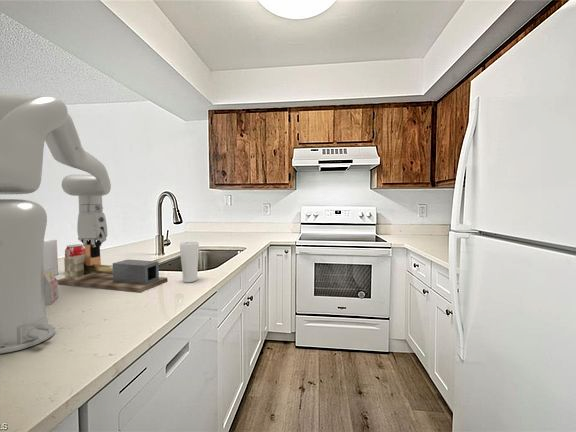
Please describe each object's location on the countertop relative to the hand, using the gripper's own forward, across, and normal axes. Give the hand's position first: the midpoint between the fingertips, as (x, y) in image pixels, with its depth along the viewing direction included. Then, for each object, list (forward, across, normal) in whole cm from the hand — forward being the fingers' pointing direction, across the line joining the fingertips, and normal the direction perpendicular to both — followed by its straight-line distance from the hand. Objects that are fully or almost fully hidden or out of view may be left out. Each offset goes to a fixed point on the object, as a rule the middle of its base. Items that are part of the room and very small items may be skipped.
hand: (92, 256), depth 112 cm
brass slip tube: (+6, -6, 0) cm, 9 cm away
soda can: (+10, +19, -8) cm, 23 cm away
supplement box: (+10, +28, 0) cm, 30 cm away
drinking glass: (+10, -36, -10) cm, 39 cm away
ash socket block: (+8, +5, 0) cm, 10 cm away
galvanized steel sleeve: (+8, -20, 0) cm, 22 cm away
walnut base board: (+10, -9, 0) cm, 13 cm away
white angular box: (+10, -7, +22) cm, 25 cm away
